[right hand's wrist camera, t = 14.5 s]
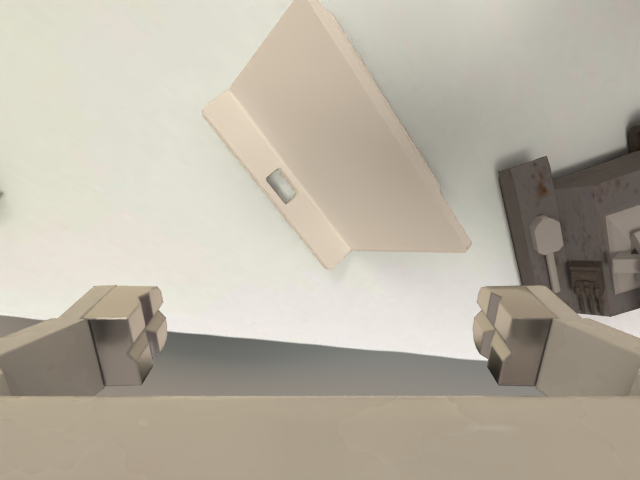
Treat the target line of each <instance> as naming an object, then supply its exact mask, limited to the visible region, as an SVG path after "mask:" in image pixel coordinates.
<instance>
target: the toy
mask: <svg viewBox="0 0 640 480" xmlns="http://www.w3.org/2000/svg"><path fill="white" fill-rule="evenodd" d="M628 138H629V148H630V154H627V155H624V156H621V157H619V158H616V159H613V160H610V161H607V162H604V163H601V164H598V165H596V166H593V167H590V168H587V169H584V170H581V171H578V172H576V173H573V174H570V175H567V176H564V177H561V178H558V179H555V180H552V174H551V169H550V165H549V162H548V159H547V156H545V157H542V158H539V159H536V160H533V161H530V162H527V163H525V164H522V165H519V166H516V167H513V168H510V169H507V170H502V171H499V183H500V187H501V191H502V196H503V200H504V205H505V209H506V214H507V218H508V223H509V227H510V232H511V236H512V241H513V245H514V249H515V254H516V258H517V263H518V267H519V272H520V276H521V281H522V285H523V286H534V285H542V286H546V287H547V288H548V289H550V290H551V291H552V292H553V293H554V294H555V295H556V296H557V297H559V298H560V299H561V300H562V301H563V302H564V303H565V304H567V305H568V306H569V307H570V308H571V309H572V310H573V311H574V312H576V313H580V314H590V315H600V316H609V317H611V316H615V315H618V314H621V313H625V312H628V311H632V310H635V309H638V308H640V125H637V126H634V127H632V128H631V129H630V130H629V134H628Z"/></svg>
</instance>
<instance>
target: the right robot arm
mask: <svg viewBox="0 0 640 480" xmlns="http://www.w3.org/2000/svg"><path fill="white" fill-rule="evenodd" d="M162 303H163V299H162V294H161V290H160V289H159V288H158V287H157V286H117V285H107V286H94V287H93V288H92V289H91V290H89V291H88V292H87V293H86V294H85V295H84V296H83V297H81V298H80V299H79V300H78V301H77V302H76V303H75V304H74V305H72V306H71V307H70V308H69V309H68V310H67V311H66V312H64V313H63V314H62V315H61V316H60V317H59V318H58V319H49V320H46V321H43V322H41V323H38V324H36V325H33V326H31V327H28V328H25V329H23V330H20V331H18V332H15V333H13V334H10V335H8V336H5V337H2V338H0V480H640V338H638V337H635V336H632V335H630V334H627V333H625V332H622V331H620V330H617V329H615V328H612V327H609V326H607V325H604V324H602V323H599V322H597V321H594V320H591V319H582V318H581V317H580V316H579V315H578V314H577V313H576V312H574V311H573V310H572V309H571V308H570V307H569V306H568V305H567V304H565V303H564V302H563V301H562V300H561V299H560V298H559V297H557V296H556V295H555V294H554V293H553V292H552V291H551V290H550V289H548V288H547V287H546V286H542V285H534V286H486V287H481V289H480V291H479V293H478V298H477V303H478V305H479V307H480V308H481V311H480V312H479V313H478V314H477V315H476V316H475V317H474V323H473V338H474V342H475V345H476V348H477V350H478V352H479V353H480V354H481V355H482V356H484V357H486V358H487V359H488V364H487V367H488V369H489V370H490V372H491V374H492V375H493V377H494V379H495V380H496V382H497V383H498V385H503V386H536V389H538V390H539V391H540V392H542V393H543V394H544V395H546V396H94V395H96V394H97V393H98V392H100V391H101V390H103V389H104V386H136V385H142V384H143V382H144V380H145V378H146V377H147V375H148V374H149V372H150V370H151V369H152V367H153V364H152V359H153V358H154V357H156V356H158V355H159V354H160V353H161V352H162V350H163V348H164V346H165V341H166V337H167V322H166V317H165V316H164V315H163V314H162V313H161V312H160V311H159V308H160V307H161V305H162Z"/></svg>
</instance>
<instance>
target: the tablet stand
mask: <svg viewBox="0 0 640 480" xmlns="http://www.w3.org/2000/svg"><path fill="white" fill-rule="evenodd" d="M202 115H203V117H204V118H205V120H206V121H207V122H208V123H209V125H210V126H211V127H212V128H213V130H214V131H215V132H216V133H217V135H218V136H219V137H220V138H221V140H222V141H223V142H224V143H225V145H226V146H227V147H228V148H229V150H230V151H231V152H232V153H233V155H234V156H235V157H236V158H237V160H238V161H239V162H240V163H241V165H242V166H243V167H244V168H245V170H246V171H247V172H248V173H249V175H250V176H251V177H252V178H253V179H254V181H255V182H256V183H257V184H258V186H259V187H260V188H261V189H262V191H263V192H264V193H265V194H266V196H267V197H268V198H269V199H270V201H271V202H272V203H273V204H274V206H275V207H276V208H277V209H278V211H279V212H280V213H281V214H282V216H283V217H284V218H285V219H286V221H287V222H288V223H289V224H290V226H291V227H292V228H293V229H294V231H295V232H296V233H297V234H298V236H299V237H300V238H301V239H302V241H303V242H304V243H305V244H306V246H307V247H308V248H309V249H310V251H311V252H312V253H313V254H314V256H315V257H316V258H317V259H318V261H319V262H320V263H321V264H322V266H323V267H324V268H326V269H333V268H335V267H336V266H337V265H338V264H339V263H340V261H341V260H342V259H343V258H344V257H345V256H346V255H347V254H348V253H349V252H350V251H399V252H448V253H465V252H466V251H467V250H468V248H469V247H470V246H471V240H470V239H469V237H468V235H467V234H466V232H465V231H464V229H463V227H462V226H461V224H460V223H459V221H458V220H457V218H456V216H455V215H454V213H453V212H452V210H451V209H450V207H449V205H448V204H447V202H446V201H445V199H444V197H443V196H442V194H441V193H440V190H441V186H440V184H439V183H438V181H437V180H436V178H435V176H434V175H433V173H432V172H431V170H430V169H429V167H428V165H427V164H426V162H425V161H424V159H423V157H422V156H421V154H420V153H419V151H418V149H417V148H416V146H415V145H414V143H413V142H412V140H411V138H410V137H409V135H408V134H407V132H406V130H405V129H404V127H403V126H402V124H401V122H400V121H399V119H398V118H397V116H396V114H395V113H394V111H393V110H392V108H391V107H390V105H389V103H388V102H387V100H386V99H385V97H384V95H383V94H382V92H381V91H380V89H379V87H378V86H377V84H376V83H375V81H374V80H373V78H372V76H371V75H370V73H369V72H368V70H367V68H366V67H365V65H364V64H363V62H362V60H361V59H360V57H359V56H358V54H357V53H356V51H355V49H354V48H353V46H352V45H351V43H350V41H349V40H348V38H347V37H346V35H345V33H344V32H343V30H342V29H341V27H340V26H339V24H338V22H337V21H336V19H335V18H334V16H333V14H332V13H331V12H330V11H328V10H324V8H323V6H322V5H321V3H320V2H319V0H294V1H293V2H292V4H291V5H290V6H289V8H288V9H287V11H286V12H285V13H284V15H283V16H282V17H281V19H280V20H279V21H278V23H277V24H276V26H275V27H274V28H273V30H272V31H271V32H270V34H269V35H268V36H267V38H266V39H265V40H264V42H263V43H262V45H261V46H260V47H259V49H258V50H257V51H256V53H255V54H254V55H253V57H252V58H251V60H250V61H249V62H248V64H247V65H246V66H245V68H244V69H243V70H242V72H241V73H240V75H239V76H238V77H237V79H236V80H235V81H234V83H233V84H232V85H231V87H230V88H229V89H228V90H227V91H226V92H224V93H223V94H221V95H220V96H219V97H217V98H216V99H214V100H213V101H211V102H210V103H209V104H207V105H206V106H205V107H204V109H203V111H202ZM276 169H278V170H279V171H280V173H281V174H282V175H283V177H284V178H285V179H286V180H287V182H288V183H289V184H290V186H291V187H292V188H293V189H294V191H295V192H296V195H295V196H294V197H293V198H292V199H291V200H290V201H289V202H288V203H286V204H284V203H283V201H282V200H281V199H280V197H279V196H278V195H277V194H276V192H275V191H274V190H273V189H272V187H271V186H270V185H269V184H268V182H267V181H266V178H267V177H268V176H269V175H270V174H271V173H272V172H273V171H275V170H276Z"/></svg>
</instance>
